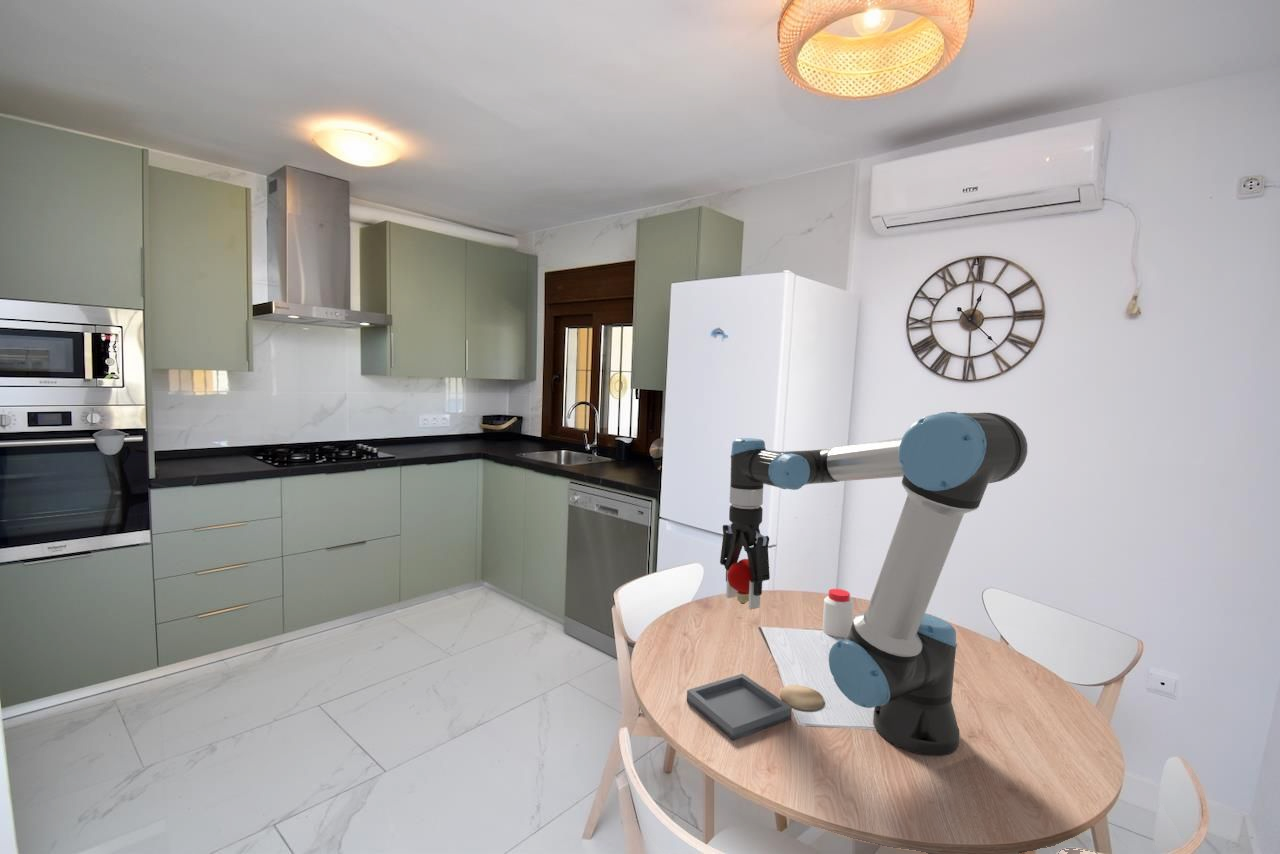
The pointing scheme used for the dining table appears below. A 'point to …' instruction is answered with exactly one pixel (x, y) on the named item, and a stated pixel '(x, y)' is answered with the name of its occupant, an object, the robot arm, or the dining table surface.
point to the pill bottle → (837, 613)
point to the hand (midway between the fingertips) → (742, 602)
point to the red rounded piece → (740, 579)
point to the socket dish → (738, 706)
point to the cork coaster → (801, 697)
